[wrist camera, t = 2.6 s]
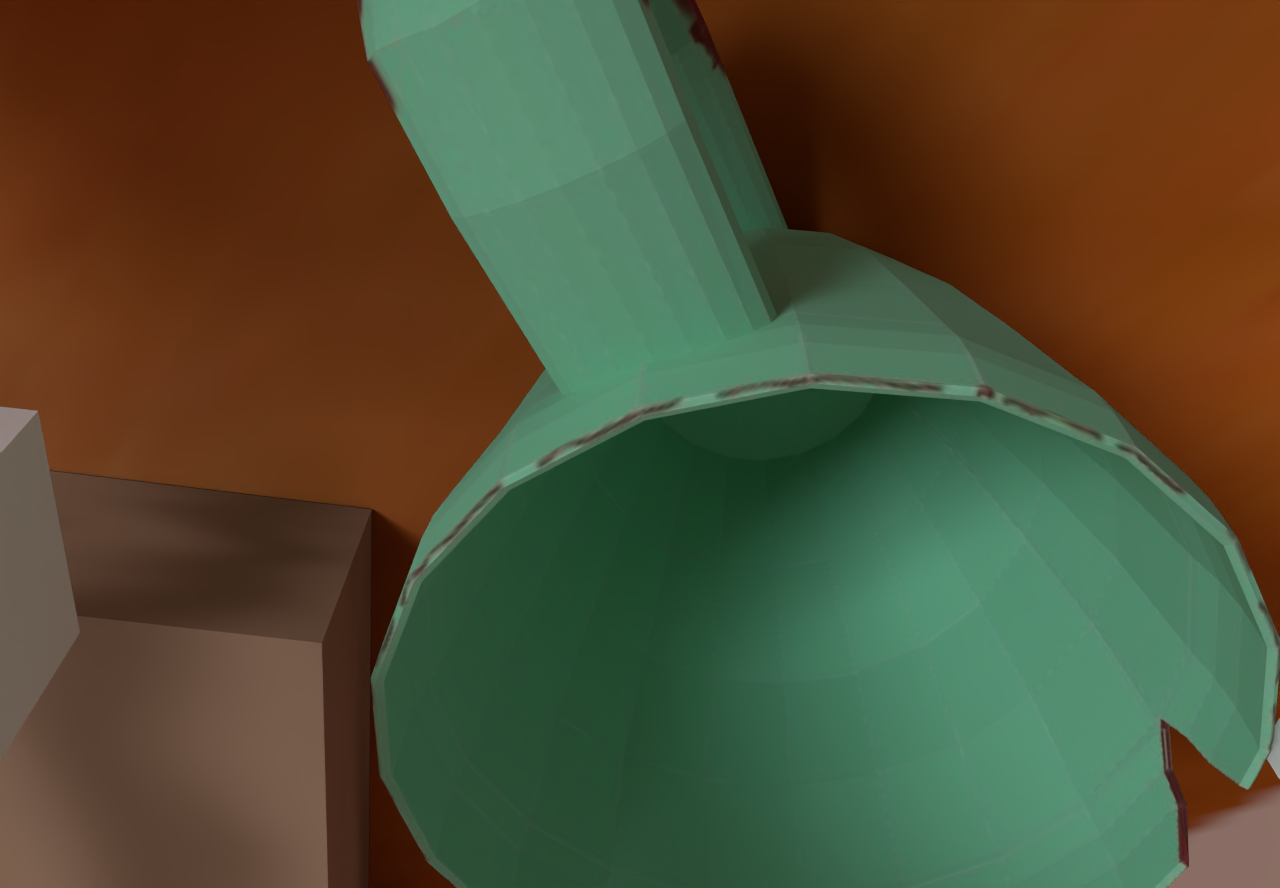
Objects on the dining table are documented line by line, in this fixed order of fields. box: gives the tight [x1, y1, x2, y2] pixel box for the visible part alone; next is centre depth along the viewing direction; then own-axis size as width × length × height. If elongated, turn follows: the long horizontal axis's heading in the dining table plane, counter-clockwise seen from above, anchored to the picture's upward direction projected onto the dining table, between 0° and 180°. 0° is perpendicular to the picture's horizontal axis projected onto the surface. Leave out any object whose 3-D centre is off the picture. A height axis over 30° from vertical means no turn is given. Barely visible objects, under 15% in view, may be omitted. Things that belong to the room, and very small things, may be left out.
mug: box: [356, 0, 1280, 888], centre depth 15 cm, size 15×10×10 cm
